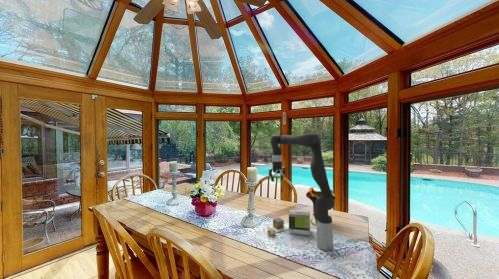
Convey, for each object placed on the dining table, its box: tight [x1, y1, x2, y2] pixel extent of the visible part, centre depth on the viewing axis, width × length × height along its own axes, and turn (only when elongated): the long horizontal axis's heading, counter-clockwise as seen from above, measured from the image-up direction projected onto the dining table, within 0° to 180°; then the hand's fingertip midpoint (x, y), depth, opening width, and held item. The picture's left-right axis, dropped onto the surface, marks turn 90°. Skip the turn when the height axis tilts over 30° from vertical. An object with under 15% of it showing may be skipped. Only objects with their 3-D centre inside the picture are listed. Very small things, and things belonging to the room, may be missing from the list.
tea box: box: [288, 209, 311, 236], centre depth 170 cm, size 15×10×15 cm
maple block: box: [266, 228, 276, 237], centre depth 166 cm, size 4×4×4 cm
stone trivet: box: [267, 224, 289, 234], centre depth 177 cm, size 12×12×1 cm
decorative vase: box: [305, 186, 336, 227], centre depth 187 cm, size 21×23×28 cm
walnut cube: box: [272, 217, 285, 229], centre depth 177 cm, size 6×6×6 cm
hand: (277, 180), depth 180 cm, fingers open, 8 cm apart
